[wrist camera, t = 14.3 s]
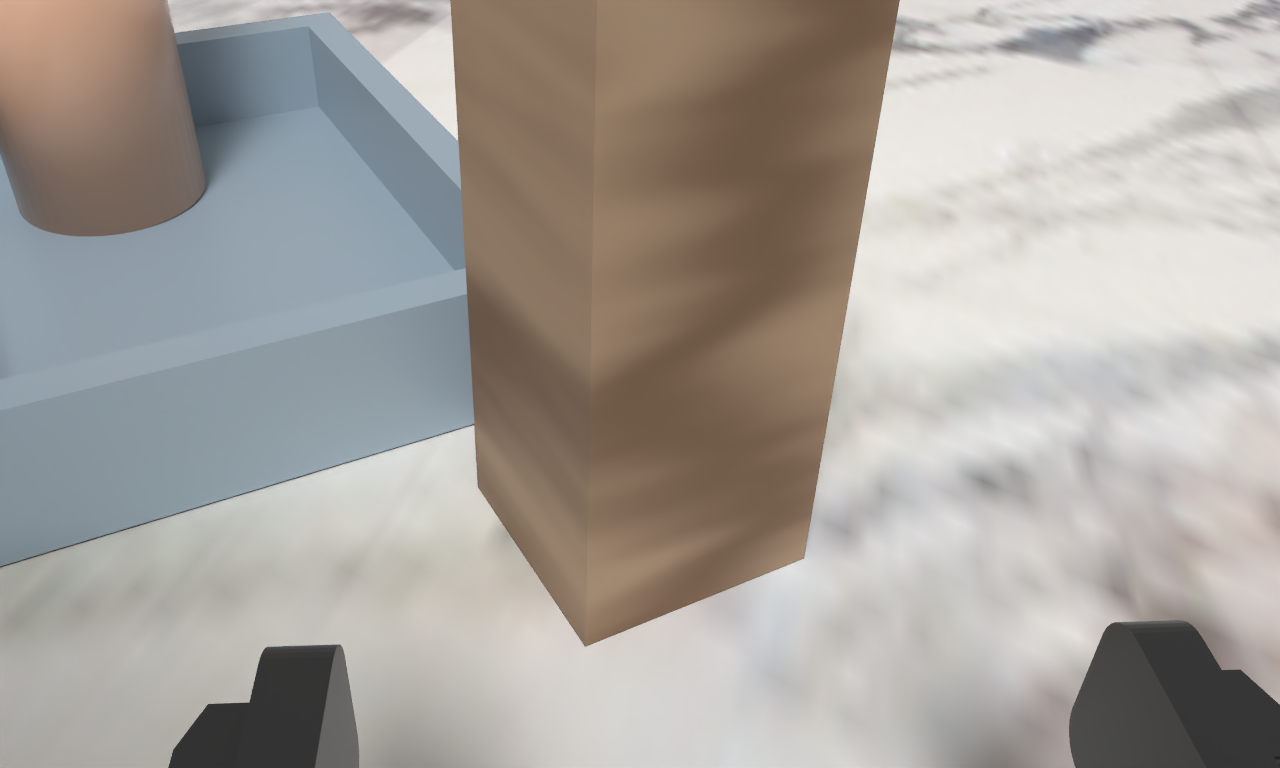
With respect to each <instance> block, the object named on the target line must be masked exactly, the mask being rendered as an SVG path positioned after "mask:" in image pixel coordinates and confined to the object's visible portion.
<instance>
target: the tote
mask: <svg viewBox="0 0 1280 768" xmlns="http://www.w3.org/2000/svg"><path fill="white" fill-rule="evenodd" d="M175 38H176V43H177V47H178V52H179V57H180V61H181V66H182V71H183V75H184V80H185V84H186V89H187V94H188V98H189V103H190V108H191V112H192V117H193V122H194V126H195V131H196V136H197V140H198V145H199V150H200V154H201V159H202V164H203V168H204V173H205V178H206V186H205V189H204V191H203V193H202V195H201V197H200V198H199V199H198V200H197V201H196V202H195V203H194V204H193V205H192V206H191V207H189V208H188V209H187V210H185V211H184V212H182V213H180V214H179V215H177V216H175V217H173V218H171V219H169V220H167V221H164V222H162V223H159V224H157V225H154V226H151V227H148V228H144V229H141V230H137V231H132V232H128V233H122V234H116V235H107V236H90V237H86V236H69V235H61V234H56V233H51V232H48V231H44V230H42V229H39V228H37V227H35V226H33V225H31V224H30V223H28V222H27V221H26V220H25V219H24V218H23V217H22V215H21V214H20V212H19V209H18V206H17V203H16V200H15V197H14V194H13V191H12V188H11V185H10V182H9V179H8V176H7V173H6V170H5V167H4V164H3V161H2V158H1V155H0V566H3V565H7V564H10V563H13V562H17V561H20V560H23V559H27V558H30V557H33V556H37V555H40V554H43V553H47V552H50V551H53V550H56V549H60V548H63V547H66V546H70V545H73V544H76V543H80V542H83V541H86V540H90V539H93V538H96V537H100V536H103V535H106V534H110V533H113V532H116V531H120V530H123V529H126V528H130V527H133V526H136V525H140V524H143V523H146V522H150V521H153V520H156V519H160V518H163V517H166V516H170V515H173V514H176V513H180V512H183V511H186V510H190V509H193V508H196V507H200V506H203V505H206V504H210V503H213V502H216V501H220V500H223V499H226V498H230V497H233V496H236V495H240V494H243V493H246V492H250V491H253V490H256V489H260V488H263V487H266V486H270V485H273V484H276V483H280V482H283V481H286V480H289V479H293V478H296V477H299V476H303V475H306V474H309V473H313V472H316V471H319V470H323V469H326V468H329V467H333V466H336V465H339V464H343V463H346V462H349V461H353V460H356V459H359V458H363V457H366V456H369V455H373V454H376V453H379V452H383V451H386V450H389V449H393V448H396V447H399V446H403V445H406V444H409V443H413V442H416V441H419V440H423V439H426V438H429V437H433V436H436V435H439V434H443V433H446V432H449V431H453V430H456V429H459V428H463V427H466V426H469V425H473V424H474V409H473V391H472V373H471V355H470V337H469V319H468V302H467V284H466V266H465V248H464V230H463V212H462V195H461V177H460V159H459V142H458V141H457V140H456V139H455V138H454V137H453V136H452V135H451V134H450V133H449V132H448V131H447V130H446V129H445V128H444V127H443V126H442V125H441V124H440V123H439V122H438V121H437V120H436V119H435V118H434V117H433V116H432V115H431V114H430V113H429V112H428V111H427V110H426V109H425V108H424V107H423V106H422V105H421V104H420V103H419V102H418V101H417V100H416V99H415V98H414V97H413V96H412V95H411V94H410V93H409V92H408V91H407V90H406V89H405V88H404V87H403V86H402V85H401V84H400V83H399V82H398V81H397V80H396V79H395V78H394V77H393V76H392V75H391V74H390V73H389V72H388V71H387V70H386V69H385V68H384V67H383V66H382V65H381V64H380V63H379V62H378V61H377V60H376V59H375V58H374V57H373V56H372V55H371V54H370V53H369V52H368V51H367V50H366V49H365V48H364V47H363V46H362V45H361V44H360V43H359V42H358V41H357V40H356V39H355V38H354V37H353V36H352V35H351V34H350V33H349V32H348V31H347V30H346V29H345V28H344V27H343V26H342V25H341V24H340V23H339V22H338V21H337V20H336V19H335V18H334V17H333V16H332V15H331V14H330V13H321V14H314V15H306V16H299V17H291V18H284V19H276V20H269V21H261V22H254V23H246V24H239V25H231V26H224V27H217V28H209V29H202V30H194V31H187V32H179V33H175Z"/></svg>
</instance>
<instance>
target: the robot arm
mask: <svg viewBox="0 0 1280 768" xmlns="http://www.w3.org/2000/svg"><path fill="white" fill-rule="evenodd" d="M1069 738H1070V747H1071V753H1072V757H1073V761H1074V764H1075V767H1076V768H1280V705H1279V704H1278V703H1277V702H1276V701H1275V700H1274V699H1273V698H1271V697H1270V696H1269V695H1268V694H1267V693H1266V692H1265V691H1264V690H1263V689H1261V688H1260V687H1259V686H1258V685H1257V684H1256V683H1255V682H1254V681H1252V680H1251V679H1250V678H1249V677H1248V676H1247V675H1246V674H1245V673H1243V672H1242V671H1241V670H1221V668H1220V667H1219V665H1218V663H1217V662H1216V660H1215V658H1214V657H1213V655H1212V653H1211V652H1210V650H1209V648H1208V647H1207V645H1206V643H1205V642H1204V640H1203V638H1202V637H1201V635H1200V634H1199V632H1198V631H1197V630H1196V629H1195V628H1194V627H1193V626H1192V625H1191V624H1189V623H1188V622H1185V621H1181V620H1174V621H1143V622H1115V623H1112V624H1110V625H1109V626H1108V627H1107V628H1106V629H1105V631H1104V633H1103V635H1102V638H1101V640H1100V642H1099V645H1098V647H1097V650H1096V652H1095V655H1094V657H1093V660H1092V662H1091V664H1090V667H1089V669H1088V672H1087V674H1086V677H1085V679H1084V681H1083V684H1082V686H1081V689H1080V691H1079V694H1078V696H1077V699H1076V701H1075V703H1074V706H1073V708H1072V712H1071V716H1070V723H1069ZM168 768H359V748H358V736H357V729H356V723H355V717H354V711H353V705H352V698H351V692H350V686H349V680H348V674H347V668H346V662H345V656H344V651H343V648H342V646H341V645H312V646H281V647H266V648H265V649H264V651H263V653H262V655H261V658H260V661H259V664H258V668H257V673H256V677H255V681H254V686H253V690H252V694H251V699H250V703H226V704H208V705H207V706H206V708H205V709H204V710H203V712H202V713H201V714H200V716H199V717H198V718H197V720H196V721H195V722H194V724H193V725H192V726H191V727H190V729H189V730H188V731H187V733H186V734H185V735H184V737H183V738H182V739H181V741H180V742H179V743H178V745H177V746H176V747H175V749H174V750H173V753H172V757H171V760H170V764H169V767H168Z"/></svg>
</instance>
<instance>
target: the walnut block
mask: <svg viewBox="0 0 1280 768" xmlns="http://www.w3.org/2000/svg"><path fill="white" fill-rule="evenodd" d="M899 1H900V0H451V16H452V34H453V52H454V70H455V88H456V105H457V123H458V141H459V159H460V177H461V195H462V212H463V230H464V248H465V266H466V284H467V302H468V319H469V337H470V355H471V373H472V391H473V409H474V426H475V444H476V462H477V480H478V488H479V489H480V491H481V492H482V494H483V495H484V497H485V498H486V500H487V501H488V503H489V504H490V506H491V507H492V509H493V510H494V512H495V513H496V515H497V516H498V517H499V519H500V520H501V522H502V523H503V525H504V526H505V528H506V529H507V531H508V532H509V534H510V535H511V537H512V538H513V540H514V541H515V543H516V544H517V546H518V547H519V549H520V550H521V552H522V553H523V555H524V556H525V558H526V559H527V561H528V562H529V564H530V565H531V567H532V568H533V570H534V571H535V572H536V574H537V575H538V577H539V578H540V580H541V581H542V583H543V584H544V586H545V587H546V589H547V590H548V592H549V593H550V595H551V596H552V598H553V599H554V601H555V602H556V604H557V605H558V607H559V608H560V610H561V611H562V613H563V614H564V616H565V617H566V619H567V620H568V622H569V623H570V624H571V626H572V627H573V629H574V630H575V632H576V633H577V635H578V636H579V638H580V639H581V641H582V642H583V644H584V645H585V646H588V645H590V644H593V643H595V642H597V641H600V640H602V639H605V638H607V637H610V636H612V635H615V634H617V633H620V632H622V631H625V630H627V629H630V628H632V627H635V626H637V625H640V624H642V623H645V622H647V621H650V620H652V619H654V618H657V617H659V616H662V615H664V614H667V613H669V612H672V611H674V610H677V609H679V608H682V607H684V606H687V605H689V604H692V603H694V602H697V601H699V600H702V599H704V598H707V597H709V596H712V595H714V594H716V593H719V592H721V591H724V590H726V589H729V588H731V587H734V586H736V585H739V584H741V583H744V582H746V581H749V580H751V579H754V578H756V577H759V576H761V575H764V574H766V573H769V572H771V571H773V570H776V569H778V568H781V567H783V566H786V565H788V564H791V563H793V562H796V561H798V560H801V559H803V558H804V555H805V549H806V543H807V538H808V532H809V526H810V520H811V514H812V508H813V503H814V497H815V491H816V485H817V479H818V473H819V468H820V462H821V456H822V450H823V444H824V438H825V432H826V427H827V421H828V415H829V409H830V403H831V397H832V392H833V386H834V380H835V374H836V368H837V362H838V357H839V351H840V345H841V339H842V333H843V327H844V322H845V316H846V310H847V304H848V298H849V292H850V287H851V281H852V275H853V269H854V263H855V257H856V252H857V246H858V240H859V234H860V228H861V222H862V217H863V211H864V205H865V199H866V193H867V187H868V182H869V176H870V170H871V164H872V158H873V152H874V147H875V141H876V135H877V129H878V123H879V117H880V112H881V106H882V100H883V94H884V88H885V82H886V77H887V71H888V65H889V59H890V53H891V47H892V42H893V36H894V30H895V24H896V18H897V12H898V6H899Z"/></svg>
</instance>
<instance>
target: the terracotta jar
mask: <svg viewBox="0 0 1280 768" xmlns="http://www.w3.org/2000/svg"><path fill="white" fill-rule="evenodd" d="M0 155H1V158H2V161H3V164H4V167H5V170H6V173H7V176H8V179H9V182H10V185H11V188H12V191H13V194H14V197H15V200H16V203H17V206H18V209H19V212H20V214H21V215H22V217H23V218H24V219H25V220H26V221H27V222H28V223H30V224H31V225H33V226H35V227H37V228H39V229H42V230H44V231H48V232H51V233H56V234H61V235H69V236H86V237H90V236H107V235H116V234H122V233H128V232H132V231H137V230H141V229H144V228H148V227H151V226H154V225H157V224H159V223H162V222H164V221H167V220H169V219H171V218H173V217H175V216H177V215H179V214H180V213H182V212H184V211H185V210H187V209H188V208H189V207H191V206H192V205H193V204H194V203H195V202H196V201H197V200H198V199H199V198H200V197H201V195H202V193H203V191H204V189H205V186H206V178H205V173H204V168H203V164H202V159H201V154H200V150H199V145H198V140H197V136H196V131H195V126H194V122H193V117H192V112H191V108H190V103H189V98H188V94H187V89H186V84H185V80H184V75H183V71H182V66H181V61H180V57H179V52H178V47H177V43H176V38H175V33H174V29H173V24H172V19H171V15H170V10H169V5H168V1H167V0H0Z"/></svg>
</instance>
